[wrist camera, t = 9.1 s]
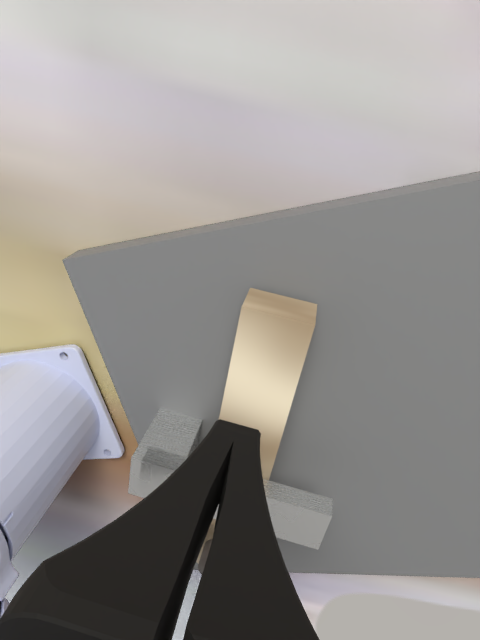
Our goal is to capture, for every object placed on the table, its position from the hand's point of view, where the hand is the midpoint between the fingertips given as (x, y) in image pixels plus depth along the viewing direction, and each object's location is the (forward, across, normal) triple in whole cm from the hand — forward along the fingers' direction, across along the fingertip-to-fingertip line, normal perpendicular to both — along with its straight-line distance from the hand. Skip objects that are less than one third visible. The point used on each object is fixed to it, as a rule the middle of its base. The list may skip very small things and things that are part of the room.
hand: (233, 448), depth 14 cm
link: (+8, 0, +6) cm, 10 cm away
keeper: (+8, 0, +8) cm, 11 cm away
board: (+9, -4, +5) cm, 11 cm away
